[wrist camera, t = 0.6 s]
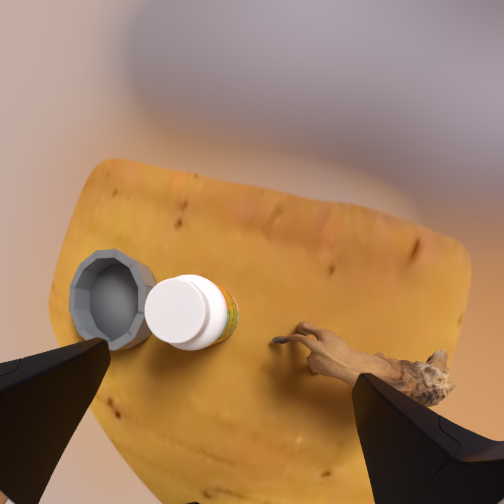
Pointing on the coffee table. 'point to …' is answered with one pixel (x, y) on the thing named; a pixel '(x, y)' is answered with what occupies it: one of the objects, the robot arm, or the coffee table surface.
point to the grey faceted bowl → (111, 298)
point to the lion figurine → (374, 365)
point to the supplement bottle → (190, 312)
